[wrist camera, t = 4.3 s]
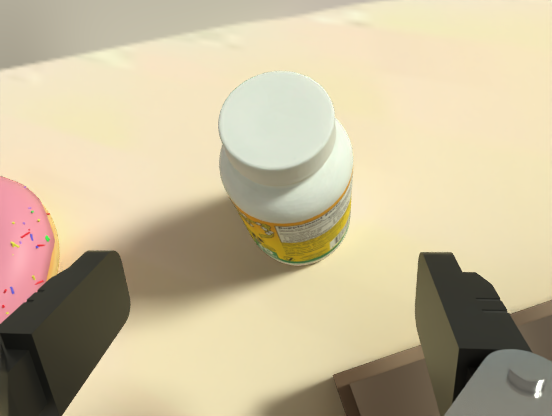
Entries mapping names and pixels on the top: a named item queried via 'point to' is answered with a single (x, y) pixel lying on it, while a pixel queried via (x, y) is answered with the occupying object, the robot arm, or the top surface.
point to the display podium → (422, 373)
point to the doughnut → (24, 245)
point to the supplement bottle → (287, 166)
